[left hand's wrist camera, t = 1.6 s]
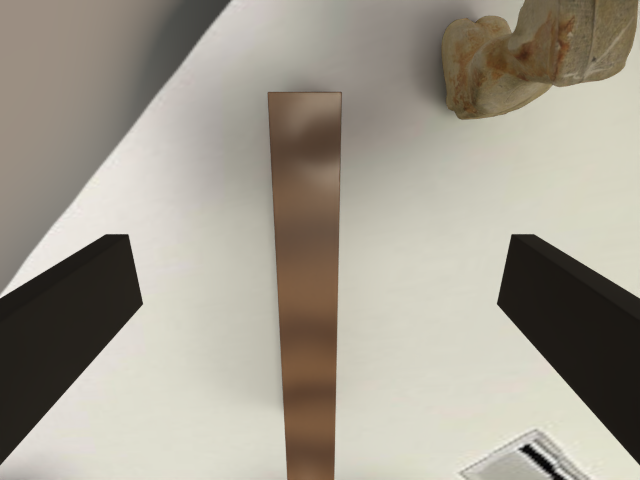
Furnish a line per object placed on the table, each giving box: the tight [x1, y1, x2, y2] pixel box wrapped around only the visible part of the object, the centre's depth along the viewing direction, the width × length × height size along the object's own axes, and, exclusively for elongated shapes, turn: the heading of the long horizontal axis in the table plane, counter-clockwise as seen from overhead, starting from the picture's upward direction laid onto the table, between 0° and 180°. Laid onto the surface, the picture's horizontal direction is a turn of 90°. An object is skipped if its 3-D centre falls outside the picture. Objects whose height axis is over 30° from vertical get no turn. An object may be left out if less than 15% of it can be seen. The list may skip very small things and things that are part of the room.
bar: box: [268, 92, 342, 480], centre depth 32 cm, size 36×5×8 cm, turn 0°
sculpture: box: [441, 0, 638, 120], centre depth 22 cm, size 6×7×15 cm
